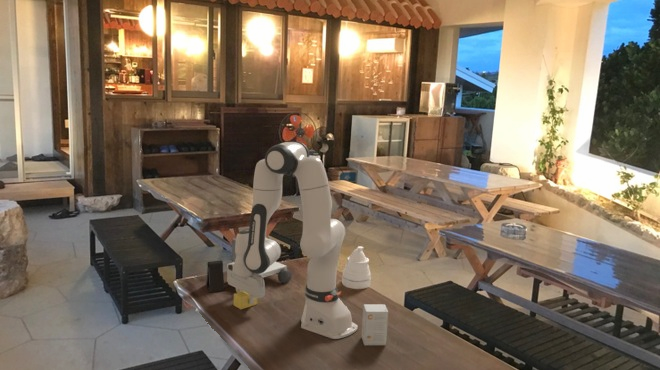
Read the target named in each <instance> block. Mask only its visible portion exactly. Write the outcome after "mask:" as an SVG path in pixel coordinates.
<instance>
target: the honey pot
mask: <svg viewBox="0 0 660 370" xmlns="http://www.w3.org/2000/svg"><path fill="white" fill-rule="evenodd" d="M363 249H364V246H359V245H358V246H357V248H355V249H354V250H353V251H352V253H350V255H349V256H348V257H347V258H346V259H347V261H346V263H345V266H344V269H343V271H342V277H341V278H342V279H341V284H342V285H343V286H344V287H346V288H349V289H353V290H363V289H367V288H369V287H370V286H371V275H372V273H371V271H370V265H369V262H370V259H369V258H368V257H366V255H365V253H364V251H363Z"/></svg>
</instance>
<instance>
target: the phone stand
mask: <svg viewBox="0 0 660 370" xmlns="http://www.w3.org/2000/svg"><path fill="white" fill-rule="evenodd" d="M206 264H207V267H206V268H207V271H206V278H205V286H206V287H207V289H208V290H209V293H216V292H217V293H218V292H224V291H225V280H224V279H225V277H224V263H223V261H222V260H215V261H214V260H213V261H208V262H207V263H206Z"/></svg>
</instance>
